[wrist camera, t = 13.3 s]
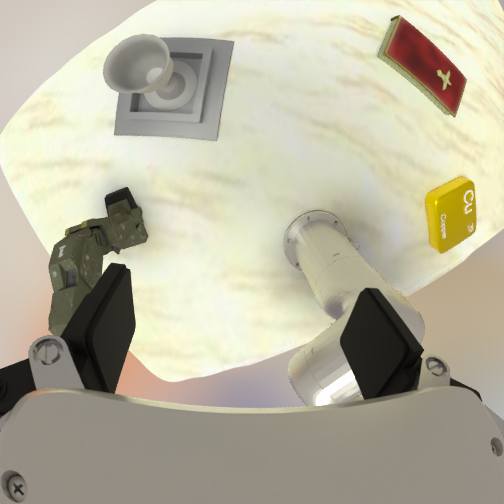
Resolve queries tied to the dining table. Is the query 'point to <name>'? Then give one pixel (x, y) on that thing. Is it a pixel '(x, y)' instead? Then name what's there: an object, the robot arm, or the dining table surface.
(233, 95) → the dining table surface
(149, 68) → the chalice
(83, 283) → the mechanical leg
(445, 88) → the hardcover book
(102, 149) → the dining table surface
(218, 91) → the housing
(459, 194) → the element tile
